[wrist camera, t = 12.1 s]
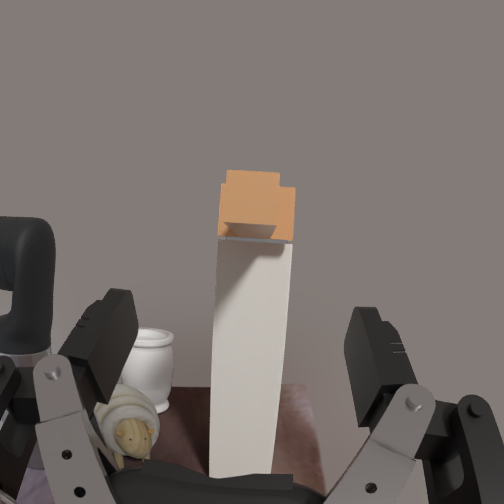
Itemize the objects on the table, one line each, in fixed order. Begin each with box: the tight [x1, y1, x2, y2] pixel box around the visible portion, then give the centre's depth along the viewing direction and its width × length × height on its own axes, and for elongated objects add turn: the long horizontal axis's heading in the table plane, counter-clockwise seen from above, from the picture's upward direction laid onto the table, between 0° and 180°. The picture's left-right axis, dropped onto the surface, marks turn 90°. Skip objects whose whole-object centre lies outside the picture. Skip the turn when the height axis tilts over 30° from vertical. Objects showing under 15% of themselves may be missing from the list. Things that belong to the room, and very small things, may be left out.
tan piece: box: [218, 170, 296, 241], centre depth 26 cm, size 16×8×5 cm, turn 178°
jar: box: [121, 328, 174, 414], centre depth 55 cm, size 11×10×15 cm
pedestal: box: [209, 237, 292, 478], centre depth 43 cm, size 16×9×38 cm, turn 178°
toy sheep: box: [94, 384, 160, 469], centre depth 39 cm, size 11×17×11 cm, turn 39°
